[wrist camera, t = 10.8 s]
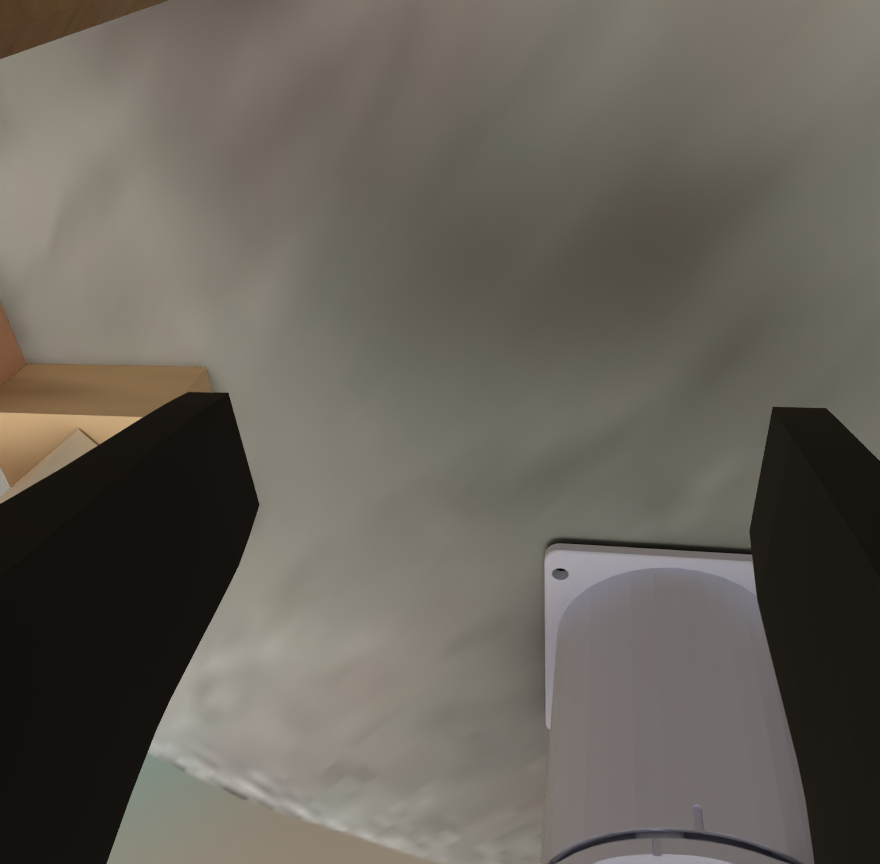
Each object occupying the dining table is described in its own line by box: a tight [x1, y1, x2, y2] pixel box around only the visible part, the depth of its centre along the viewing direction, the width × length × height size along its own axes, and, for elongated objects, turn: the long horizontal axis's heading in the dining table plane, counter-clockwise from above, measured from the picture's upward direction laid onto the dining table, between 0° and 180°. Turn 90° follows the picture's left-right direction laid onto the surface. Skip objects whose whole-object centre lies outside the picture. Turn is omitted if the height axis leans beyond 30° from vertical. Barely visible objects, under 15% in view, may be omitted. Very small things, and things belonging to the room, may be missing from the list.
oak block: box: [0, 364, 213, 487], centre depth 25 cm, size 6×6×3 cm
